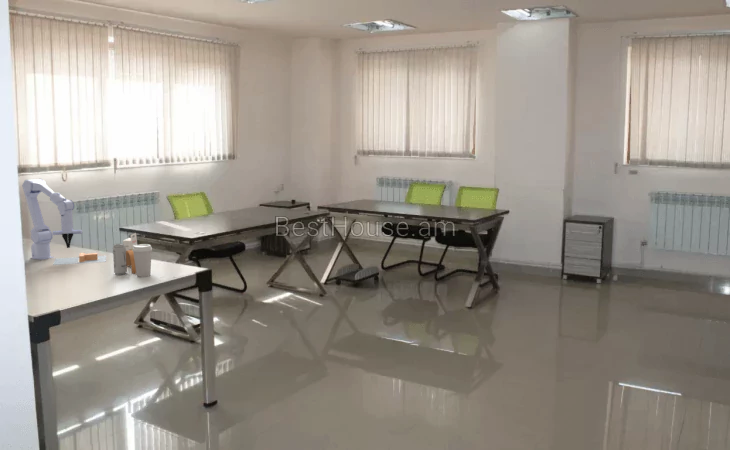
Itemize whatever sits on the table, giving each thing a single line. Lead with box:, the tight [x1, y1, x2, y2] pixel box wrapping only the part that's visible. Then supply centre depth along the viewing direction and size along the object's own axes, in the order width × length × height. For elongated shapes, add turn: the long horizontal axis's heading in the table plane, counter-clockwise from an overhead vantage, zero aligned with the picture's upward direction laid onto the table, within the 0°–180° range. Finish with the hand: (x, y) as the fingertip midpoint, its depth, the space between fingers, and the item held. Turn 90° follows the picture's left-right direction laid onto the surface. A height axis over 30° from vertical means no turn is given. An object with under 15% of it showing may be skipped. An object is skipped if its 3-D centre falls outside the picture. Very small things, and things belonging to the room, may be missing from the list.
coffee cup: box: [132, 243, 153, 278], centre depth 326 cm, size 10×10×15 cm
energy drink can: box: [112, 242, 128, 276], centre depth 329 cm, size 6×6×15 cm
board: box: [52, 255, 107, 266], centre depth 360 cm, size 26×18×1 cm
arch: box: [126, 250, 136, 274], centre depth 340 cm, size 6×20×10 cm, turn 29°
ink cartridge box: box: [122, 232, 138, 251], centre depth 362 cm, size 9×5×15 cm, turn 179°
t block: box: [78, 252, 99, 262], centre depth 362 cm, size 9×10×3 cm
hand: (68, 247), depth 357 cm, fingers closed
